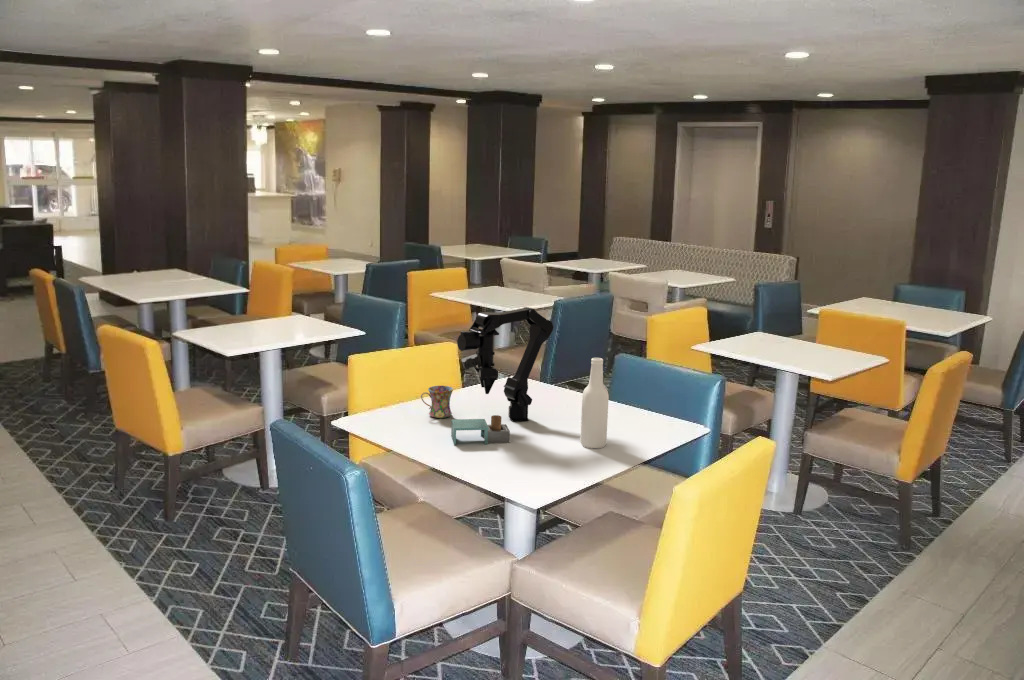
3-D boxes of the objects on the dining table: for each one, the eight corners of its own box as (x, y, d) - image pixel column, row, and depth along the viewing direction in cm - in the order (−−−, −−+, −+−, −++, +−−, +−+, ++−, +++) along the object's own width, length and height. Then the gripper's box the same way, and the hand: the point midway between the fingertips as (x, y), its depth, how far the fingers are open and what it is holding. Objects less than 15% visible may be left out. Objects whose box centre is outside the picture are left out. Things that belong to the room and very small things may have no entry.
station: (505, 434, 291) (505, 418, 289) (510, 443, 281) (510, 426, 280) (451, 436, 287) (451, 419, 286) (454, 445, 278) (454, 428, 277)
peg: (500, 437, 288) (500, 415, 286) (501, 440, 284) (502, 418, 283) (490, 437, 287) (490, 415, 285) (491, 440, 284) (492, 418, 282)
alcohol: (609, 448, 279) (613, 361, 273) (583, 449, 277) (587, 361, 271) (602, 440, 287) (606, 355, 281) (577, 441, 286) (581, 355, 280)
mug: (450, 412, 316) (451, 385, 314) (454, 419, 308) (455, 391, 305) (419, 413, 314) (419, 386, 311) (422, 420, 305) (422, 392, 303)
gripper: (459, 343, 303) (459, 384, 306) (466, 354, 285) (466, 398, 288) (489, 342, 305) (489, 383, 308) (498, 353, 287) (498, 397, 290)
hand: (484, 390), depth 299 cm, fingers open, 9 cm apart
